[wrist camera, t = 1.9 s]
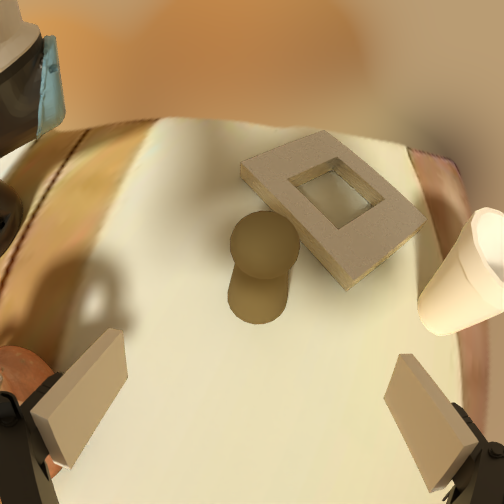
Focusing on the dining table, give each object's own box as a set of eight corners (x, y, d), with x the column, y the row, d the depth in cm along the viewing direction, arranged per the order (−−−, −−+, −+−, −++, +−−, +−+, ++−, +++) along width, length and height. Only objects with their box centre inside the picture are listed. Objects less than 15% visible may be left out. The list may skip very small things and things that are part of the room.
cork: (268, 261, 33) (280, 188, 24) (298, 307, 30) (326, 246, 21) (217, 284, 31) (209, 216, 22) (245, 334, 29) (250, 283, 19)
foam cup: (449, 364, 27) (531, 320, 16) (392, 315, 30) (460, 249, 19) (475, 305, 31) (541, 250, 20) (426, 261, 34) (482, 192, 23)
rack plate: (240, 176, 40) (240, 162, 38) (321, 142, 45) (324, 130, 43) (346, 291, 32) (353, 280, 29) (419, 230, 37) (427, 219, 35)
